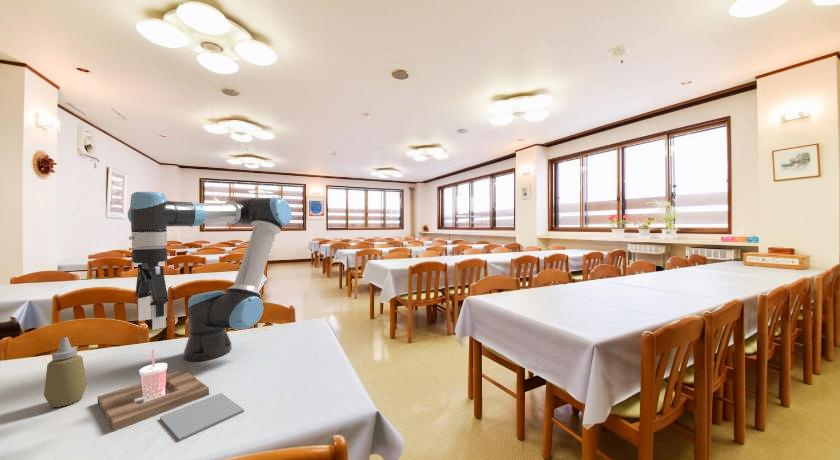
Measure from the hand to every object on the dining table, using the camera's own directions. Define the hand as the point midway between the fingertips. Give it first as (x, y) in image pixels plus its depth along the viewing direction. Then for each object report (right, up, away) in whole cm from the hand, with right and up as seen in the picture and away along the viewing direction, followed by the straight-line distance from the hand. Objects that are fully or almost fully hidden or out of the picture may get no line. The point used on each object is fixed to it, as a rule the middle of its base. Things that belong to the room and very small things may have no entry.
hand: (151, 324), depth 90 cm
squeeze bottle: (-23, -22, -1) cm, 32 cm away
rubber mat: (+19, -21, -7) cm, 30 cm away
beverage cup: (0, -22, +1) cm, 22 cm away
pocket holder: (0, -21, +1) cm, 21 cm away
